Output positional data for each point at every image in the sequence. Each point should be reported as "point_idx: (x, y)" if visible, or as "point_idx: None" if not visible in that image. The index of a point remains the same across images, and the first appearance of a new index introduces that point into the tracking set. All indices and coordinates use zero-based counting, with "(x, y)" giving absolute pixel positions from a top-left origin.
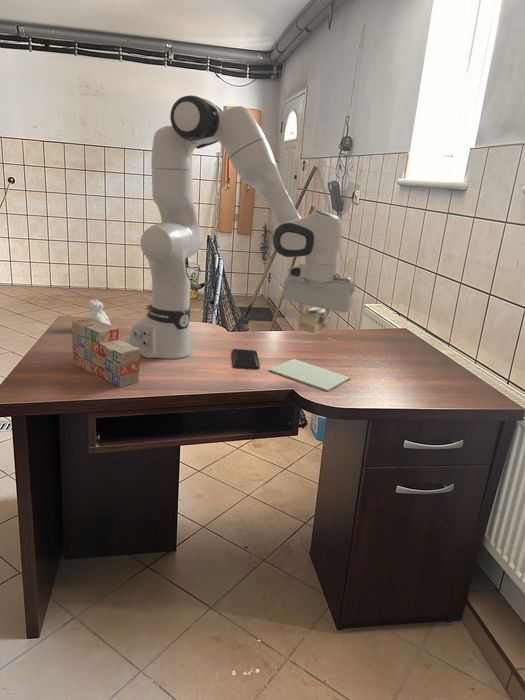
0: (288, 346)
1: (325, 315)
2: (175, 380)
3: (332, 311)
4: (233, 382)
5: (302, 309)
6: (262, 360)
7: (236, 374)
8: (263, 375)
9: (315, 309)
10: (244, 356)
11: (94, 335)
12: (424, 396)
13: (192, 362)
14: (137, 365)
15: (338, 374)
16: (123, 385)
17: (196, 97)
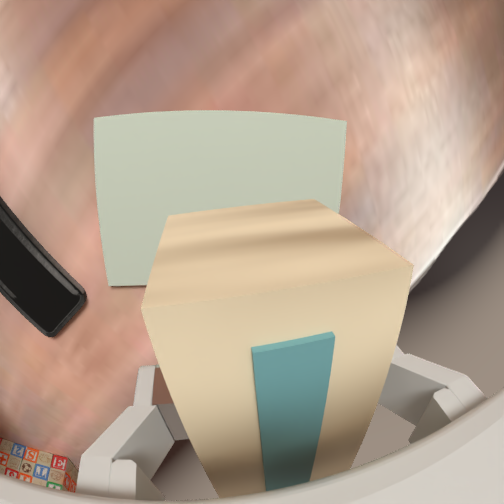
0: (22, 23)
1: (400, 414)
2: (78, 437)
3: (468, 378)
4: (129, 396)
5: (153, 466)
6: (38, 221)
7: (92, 362)
8: (130, 321)
9: (265, 416)
10: (3, 258)
11: None
12: (485, 117)
13: (4, 369)
14: (64, 478)
15: (306, 125)
16: (76, 470)
17: None
